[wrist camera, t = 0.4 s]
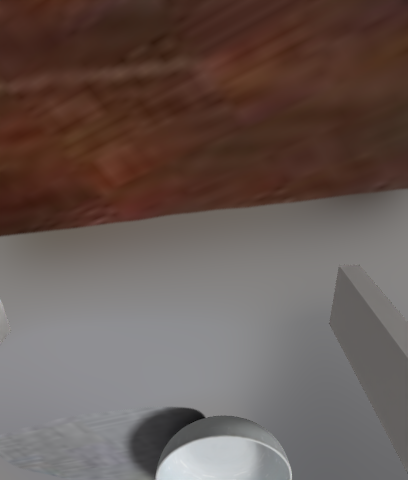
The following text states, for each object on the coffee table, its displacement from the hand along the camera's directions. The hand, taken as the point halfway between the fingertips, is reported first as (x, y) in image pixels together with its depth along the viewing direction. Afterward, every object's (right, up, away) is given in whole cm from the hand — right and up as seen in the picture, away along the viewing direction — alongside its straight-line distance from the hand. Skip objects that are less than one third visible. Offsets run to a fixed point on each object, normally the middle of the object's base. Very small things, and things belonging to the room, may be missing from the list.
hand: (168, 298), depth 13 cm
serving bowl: (+4, -32, +45) cm, 55 cm away
